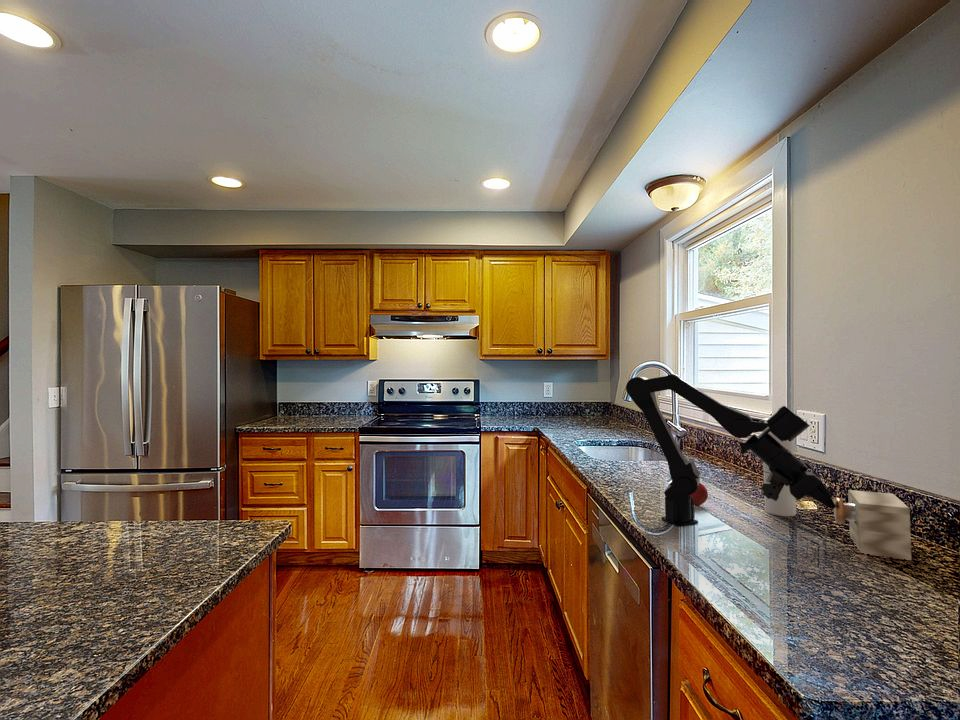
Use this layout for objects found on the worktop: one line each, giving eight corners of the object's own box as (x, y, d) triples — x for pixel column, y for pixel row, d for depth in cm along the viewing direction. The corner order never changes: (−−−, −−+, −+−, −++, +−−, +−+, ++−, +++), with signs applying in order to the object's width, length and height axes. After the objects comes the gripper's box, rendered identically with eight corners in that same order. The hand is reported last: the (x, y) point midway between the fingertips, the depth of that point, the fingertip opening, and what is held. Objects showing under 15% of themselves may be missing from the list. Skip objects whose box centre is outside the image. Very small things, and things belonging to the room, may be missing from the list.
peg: (838, 526, 103) (837, 500, 103) (834, 519, 108) (833, 494, 108) (892, 532, 99) (891, 506, 99) (885, 524, 104) (884, 499, 104)
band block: (861, 553, 99) (859, 503, 99) (849, 535, 109) (848, 489, 109) (911, 560, 95) (909, 507, 95) (894, 540, 105) (892, 493, 106)
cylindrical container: (801, 516, 123) (797, 420, 124) (771, 515, 125) (767, 420, 125) (789, 508, 130) (785, 418, 131) (760, 507, 132) (757, 418, 132)
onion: (684, 508, 133) (684, 479, 133) (686, 502, 138) (685, 475, 138) (707, 510, 130) (706, 481, 130) (708, 505, 135) (707, 477, 135)
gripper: (747, 469, 122) (800, 517, 117) (747, 485, 106) (809, 543, 100) (782, 440, 119) (838, 489, 113) (788, 453, 102) (854, 510, 97)
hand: (834, 507), depth 106 cm, fingers closed, pressing on peg
